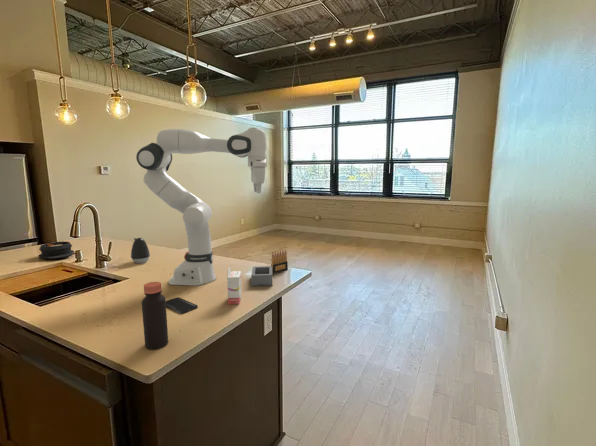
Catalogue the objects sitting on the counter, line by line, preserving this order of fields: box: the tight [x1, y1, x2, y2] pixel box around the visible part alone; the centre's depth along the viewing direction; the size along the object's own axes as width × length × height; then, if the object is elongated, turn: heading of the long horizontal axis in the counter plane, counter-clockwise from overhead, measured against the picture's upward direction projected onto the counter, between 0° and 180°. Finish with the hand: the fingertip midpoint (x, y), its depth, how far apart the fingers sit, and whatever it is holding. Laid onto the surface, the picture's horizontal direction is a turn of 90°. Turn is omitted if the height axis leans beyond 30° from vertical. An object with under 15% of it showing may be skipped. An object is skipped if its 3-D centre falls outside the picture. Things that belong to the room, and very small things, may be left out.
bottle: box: [141, 281, 169, 350], centre depth 98 cm, size 7×7×20 cm
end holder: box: [250, 265, 273, 287], centre depth 157 cm, size 10×14×6 cm
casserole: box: [38, 241, 75, 260], centre depth 202 cm, size 25×19×8 cm
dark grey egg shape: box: [130, 237, 151, 264], centre depth 189 cm, size 10×10×15 cm
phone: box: [166, 296, 198, 315], centre depth 128 cm, size 8×1×15 cm
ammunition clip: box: [270, 249, 289, 275], centre depth 172 cm, size 11×2×12 cm, turn 132°
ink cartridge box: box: [226, 264, 242, 305], centre depth 133 cm, size 9×5×15 cm, turn 5°
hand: (257, 192), depth 152 cm, fingers open, 8 cm apart
